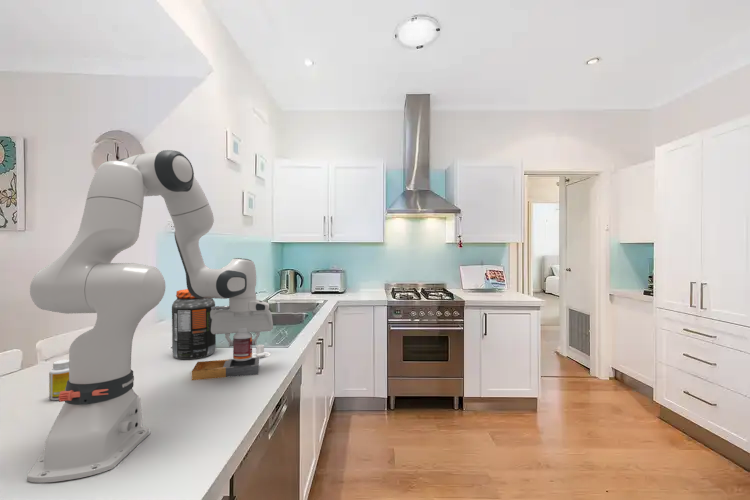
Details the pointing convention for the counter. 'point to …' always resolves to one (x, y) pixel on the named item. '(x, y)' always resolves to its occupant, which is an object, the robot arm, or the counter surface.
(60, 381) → the supplement bottle
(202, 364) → the rail
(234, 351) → the pill bottle
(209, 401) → the counter surface
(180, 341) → the supplement tub
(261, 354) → the white looped piece
